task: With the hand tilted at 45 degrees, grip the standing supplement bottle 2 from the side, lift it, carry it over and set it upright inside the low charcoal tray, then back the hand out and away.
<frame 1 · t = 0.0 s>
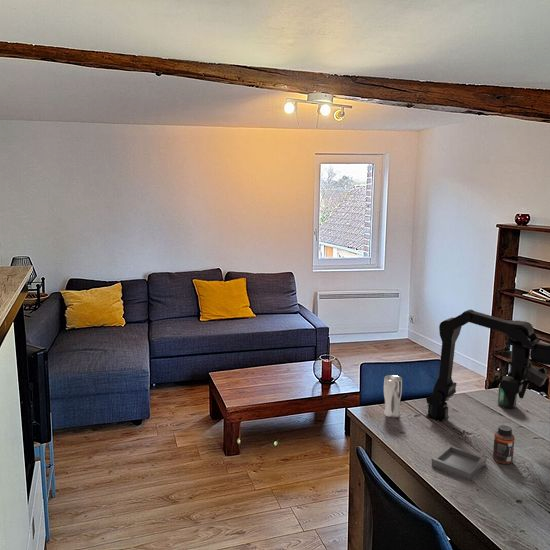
hand: (516, 402, 174), 15 cm above the table, tool pointing down, fingers open, 9 cm apart
supplement bottle 2: (502, 460, 165), on the table
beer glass: (391, 414, 198), on the table
tray: (458, 465, 162), on the table
supplement bottle: (506, 406, 206), on the table
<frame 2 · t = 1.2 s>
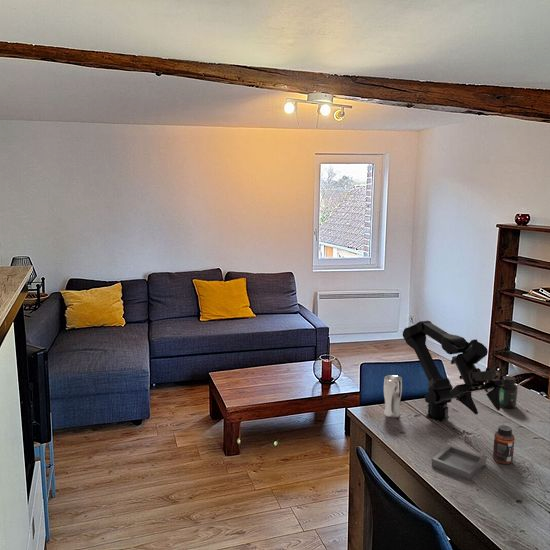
hand: (488, 412, 170), 13 cm above the table, tool tilted 45°, fingers open, 9 cm apart
nothing on the table moved.
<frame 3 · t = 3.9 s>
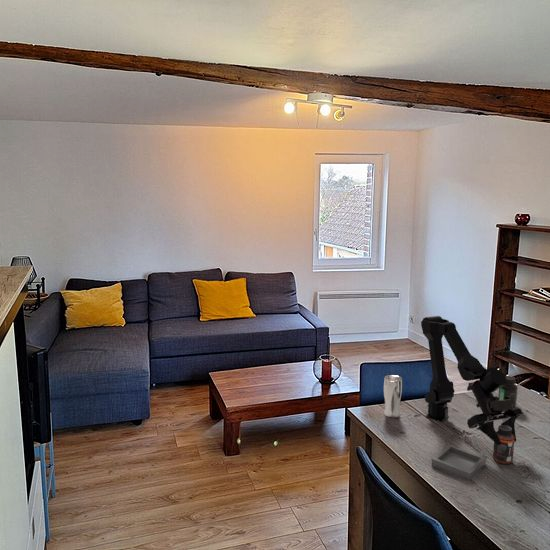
hand: (507, 443, 162), 7 cm above the table, tool tilted 45°, fingers closed on supplement bottle 2, 6 cm apart
supplement bottle 2: (502, 460, 165), on the table, touching gripper
everything else where it was.
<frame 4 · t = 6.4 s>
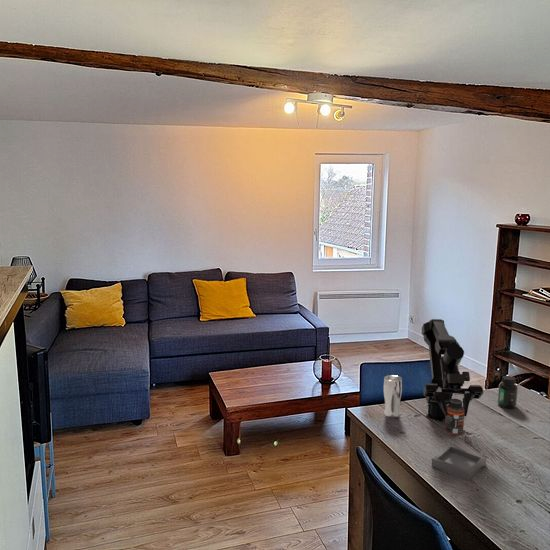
hand: (455, 415, 167), 13 cm above the table, tool tilted 45°, fingers closed on supplement bottle 2, 6 cm apart
supplement bottle 2: (453, 432, 170), point 6 cm above the table, touching gripper
everything else where it was.
when the fingers open (9 cm above the table, at t = 8.9 s): supplement bottle 2 drops 2 cm, resting on tray.
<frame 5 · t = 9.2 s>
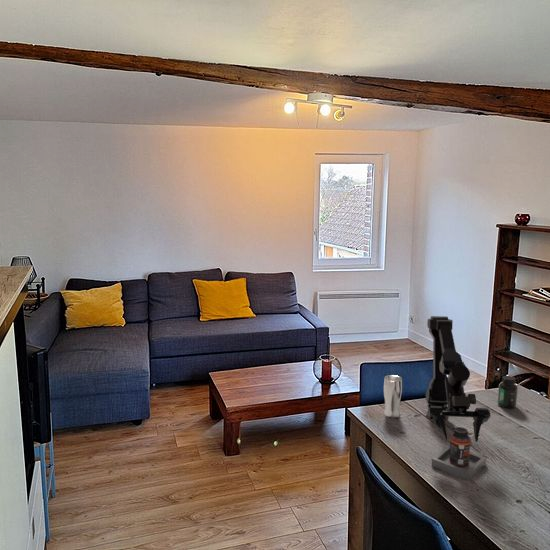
hand: (461, 440, 159), 9 cm above the table, tool tilted 45°, fingers open, 9 cm apart
supplement bottle 2: (459, 463, 162), point 1 cm above the table, touching tray
everything else where it was.
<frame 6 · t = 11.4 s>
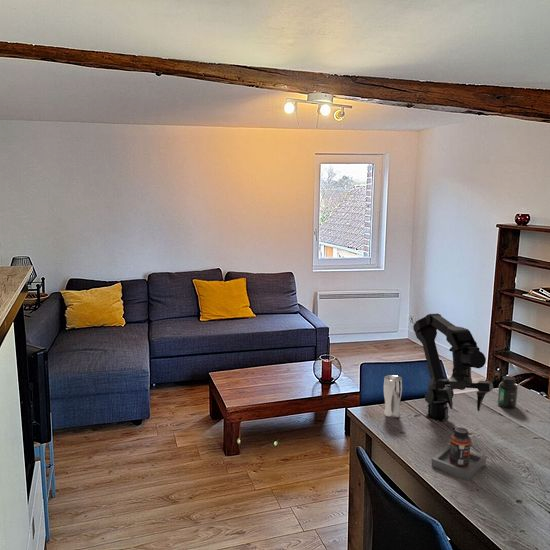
hand: (464, 409, 177), 11 cm above the table, tool pointing down, fingers open, 9 cm apart
nothing on the table moved.
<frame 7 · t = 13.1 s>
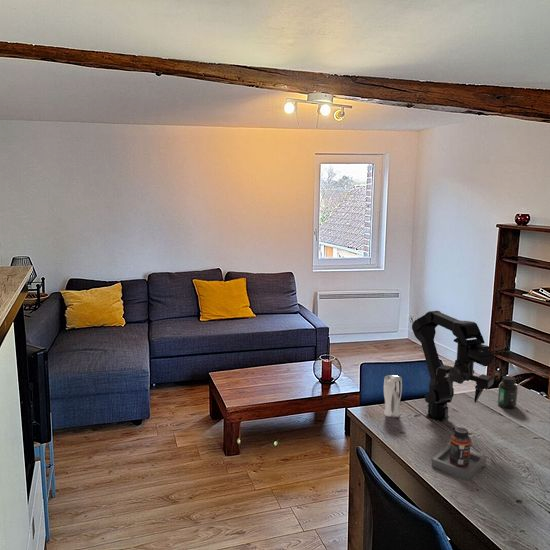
hand: (462, 398, 181), 13 cm above the table, tool pointing down, fingers open, 9 cm apart
nothing on the table moved.
at the end: supplement bottle 2 0.2 cm off-centre on the tray, point 0.6 cm above the tray's base; supplement bottle 2 tilted 0°; the gripper is holding nothing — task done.
